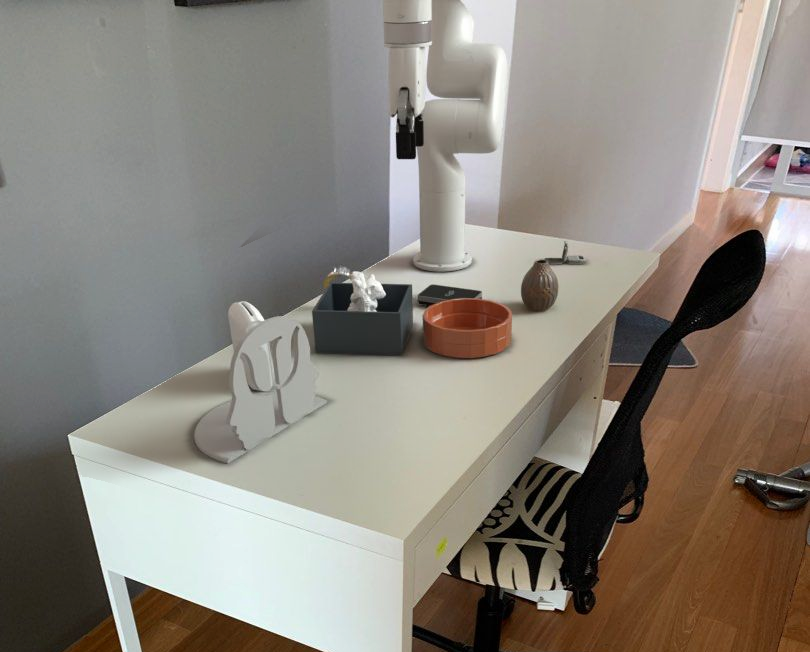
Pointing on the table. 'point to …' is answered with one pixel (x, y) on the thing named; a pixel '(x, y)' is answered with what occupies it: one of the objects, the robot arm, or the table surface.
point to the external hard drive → (445, 294)
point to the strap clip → (570, 259)
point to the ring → (335, 273)
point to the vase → (539, 287)
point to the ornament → (265, 412)
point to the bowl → (467, 327)
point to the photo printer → (240, 323)
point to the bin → (363, 322)
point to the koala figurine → (365, 293)
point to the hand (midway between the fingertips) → (410, 152)
